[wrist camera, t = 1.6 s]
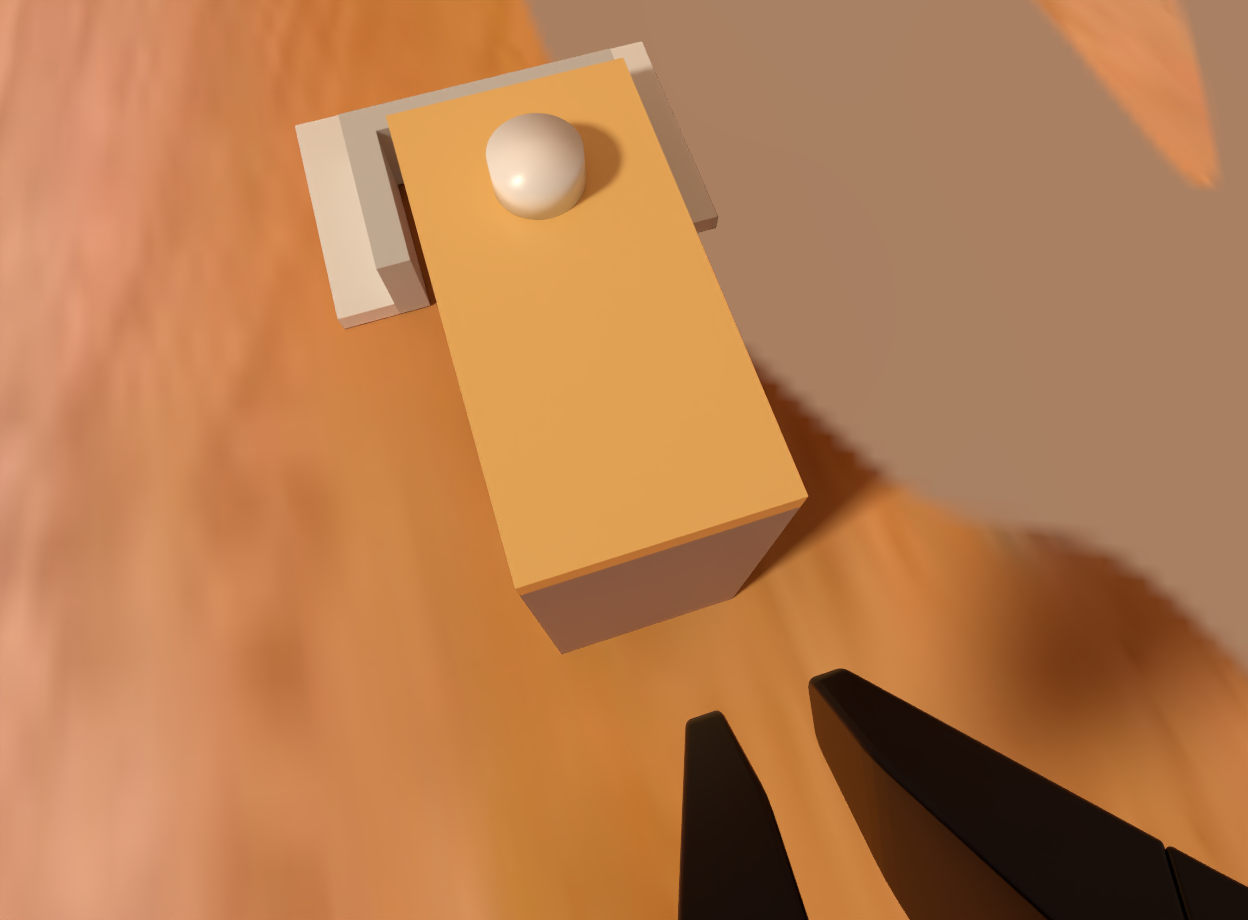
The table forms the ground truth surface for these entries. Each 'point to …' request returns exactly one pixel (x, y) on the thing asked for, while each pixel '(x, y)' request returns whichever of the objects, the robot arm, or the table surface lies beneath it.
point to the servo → (593, 354)
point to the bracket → (370, 174)
